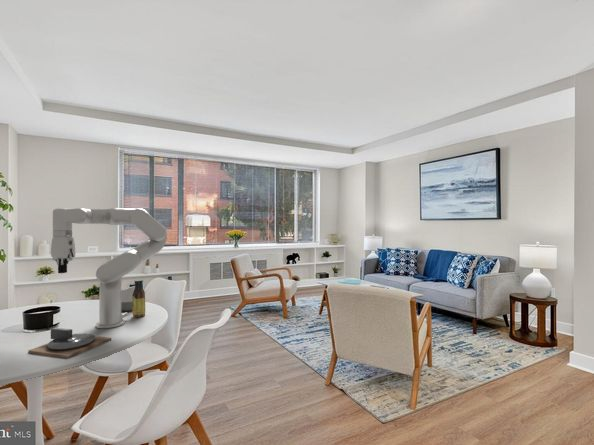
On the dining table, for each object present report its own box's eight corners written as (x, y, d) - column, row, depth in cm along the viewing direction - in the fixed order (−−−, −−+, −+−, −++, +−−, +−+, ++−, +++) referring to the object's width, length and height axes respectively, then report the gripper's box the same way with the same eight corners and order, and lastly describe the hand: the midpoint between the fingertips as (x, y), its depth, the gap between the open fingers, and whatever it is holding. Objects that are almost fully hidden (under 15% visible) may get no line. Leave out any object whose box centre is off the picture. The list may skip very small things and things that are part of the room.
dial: (33, 347, 130) (33, 334, 130) (70, 334, 145) (70, 322, 145) (69, 352, 125) (69, 338, 125) (103, 337, 141) (103, 325, 141)
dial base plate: (75, 335, 147) (75, 332, 147) (111, 340, 142) (111, 337, 142) (28, 352, 128) (28, 349, 128) (68, 358, 123) (68, 355, 123)
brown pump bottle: (135, 314, 181) (135, 278, 181) (147, 314, 181) (147, 278, 181) (130, 318, 174) (130, 281, 174) (142, 318, 174) (142, 280, 174)
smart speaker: (125, 308, 195) (125, 284, 195) (140, 308, 195) (140, 284, 195) (116, 312, 185) (116, 287, 185) (132, 312, 185) (132, 287, 185)
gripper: (82, 234, 157) (82, 272, 157) (58, 233, 161) (58, 271, 161) (67, 234, 150) (67, 274, 150) (42, 234, 154) (42, 273, 154)
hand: (62, 272), depth 155 cm, fingers closed
